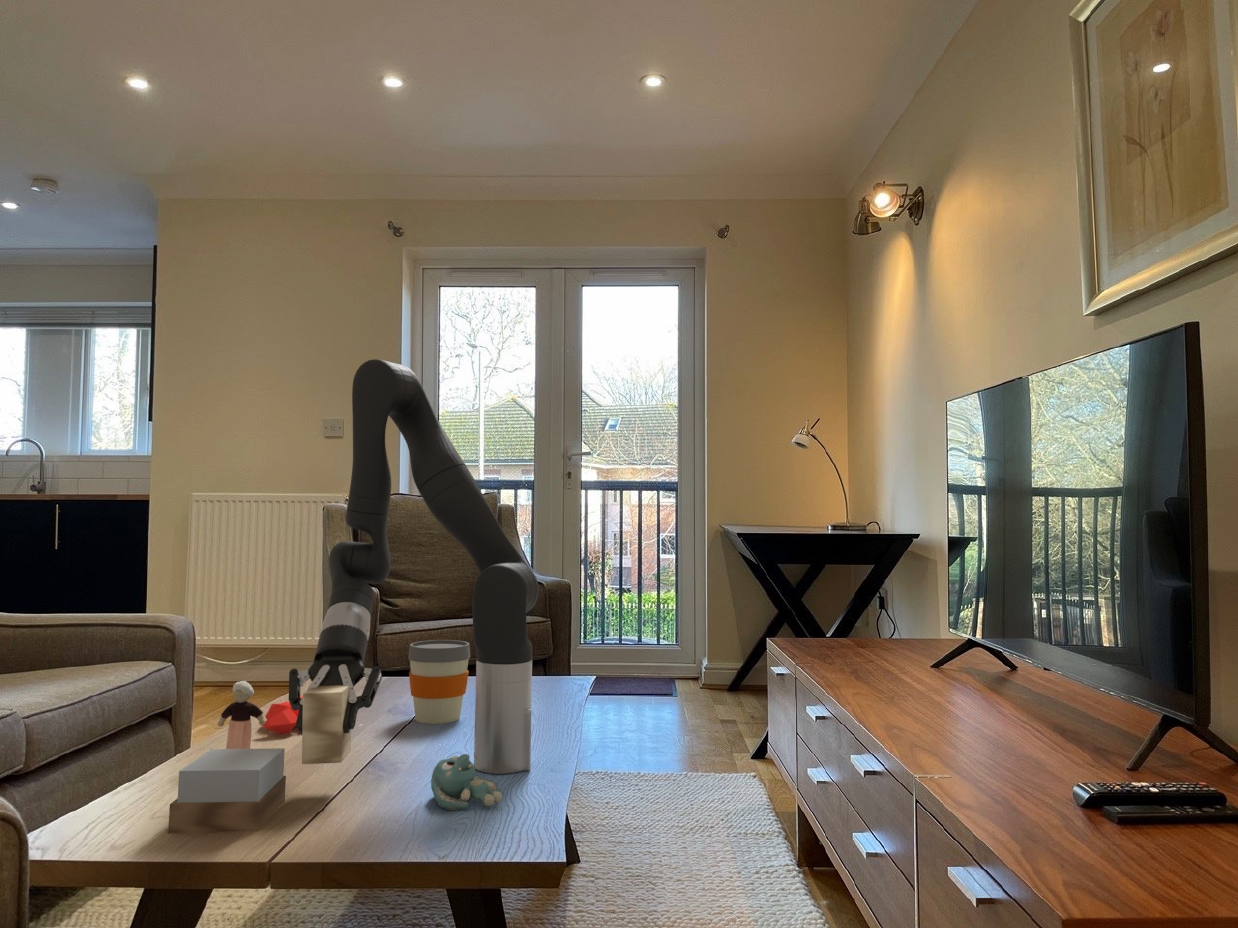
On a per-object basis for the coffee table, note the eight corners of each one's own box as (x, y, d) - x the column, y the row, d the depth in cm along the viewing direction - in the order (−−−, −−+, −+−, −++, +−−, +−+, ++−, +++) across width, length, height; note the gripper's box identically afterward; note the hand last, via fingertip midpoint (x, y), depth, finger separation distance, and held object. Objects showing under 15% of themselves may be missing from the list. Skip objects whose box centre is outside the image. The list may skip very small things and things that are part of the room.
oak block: (350, 751, 122) (351, 684, 123) (341, 762, 116) (342, 692, 117) (313, 752, 121) (314, 685, 122) (301, 764, 115) (302, 693, 116)
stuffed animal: (474, 781, 107) (415, 750, 114) (466, 833, 108) (407, 798, 114) (526, 762, 116) (468, 734, 123) (517, 810, 116) (460, 779, 123)
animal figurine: (250, 740, 146) (251, 711, 147) (273, 720, 161) (274, 694, 161) (316, 738, 148) (317, 710, 148) (333, 719, 163) (334, 693, 163)
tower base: (284, 804, 114) (285, 775, 114) (257, 834, 103) (259, 802, 103) (203, 806, 113) (205, 776, 113) (168, 836, 102) (169, 804, 102)
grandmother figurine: (212, 762, 132) (216, 684, 133) (217, 755, 136) (220, 679, 136) (262, 759, 134) (266, 682, 135) (266, 752, 138) (269, 678, 139)
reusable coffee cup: (454, 727, 157) (456, 649, 158) (394, 723, 159) (397, 647, 160) (477, 713, 169) (479, 641, 170) (422, 709, 171) (424, 638, 172)
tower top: (283, 777, 113) (284, 748, 114) (258, 801, 103) (259, 769, 104) (209, 777, 113) (211, 748, 113) (177, 802, 103) (179, 770, 103)
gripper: (293, 624, 127) (267, 719, 114) (386, 621, 128) (371, 714, 115) (302, 652, 131) (278, 747, 119) (392, 650, 133) (378, 742, 120)
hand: (324, 730), depth 117 cm, fingers closed on oak block, 5 cm apart
